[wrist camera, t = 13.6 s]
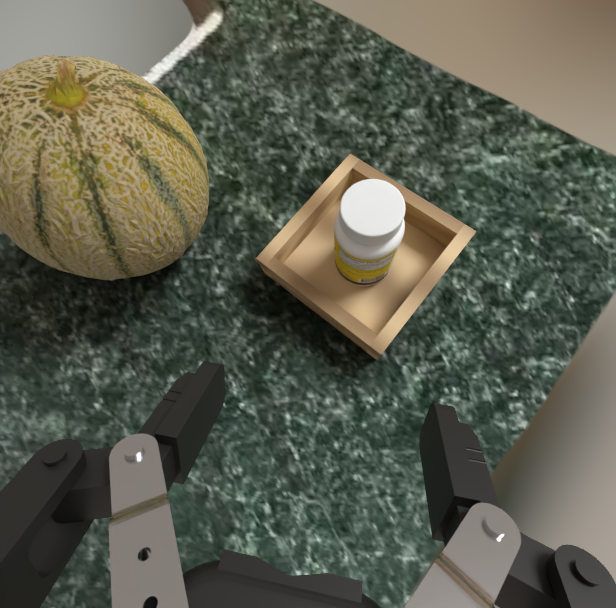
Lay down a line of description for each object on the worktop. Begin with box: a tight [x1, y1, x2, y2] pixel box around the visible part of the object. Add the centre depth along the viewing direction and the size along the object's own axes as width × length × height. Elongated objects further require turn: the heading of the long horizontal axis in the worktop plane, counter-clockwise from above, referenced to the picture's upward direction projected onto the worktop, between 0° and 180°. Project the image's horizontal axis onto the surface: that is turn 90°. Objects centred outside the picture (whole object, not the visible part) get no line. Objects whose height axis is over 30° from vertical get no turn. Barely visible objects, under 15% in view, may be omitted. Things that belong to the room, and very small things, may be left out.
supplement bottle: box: [334, 179, 405, 286], centre depth 25 cm, size 5×5×8 cm
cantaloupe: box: [0, 55, 209, 281], centre depth 25 cm, size 15×15×15 cm
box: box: [256, 154, 476, 360], centre depth 28 cm, size 12×12×3 cm
